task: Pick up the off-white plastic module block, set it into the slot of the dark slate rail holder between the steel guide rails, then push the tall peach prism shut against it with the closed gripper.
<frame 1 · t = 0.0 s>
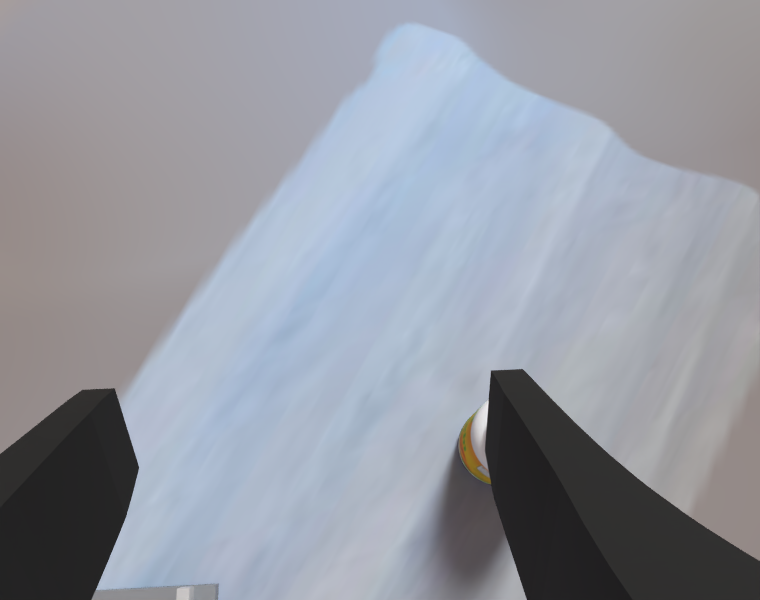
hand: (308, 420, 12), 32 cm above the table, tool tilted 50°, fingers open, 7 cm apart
supplement bottle: (494, 447, 43), on the table
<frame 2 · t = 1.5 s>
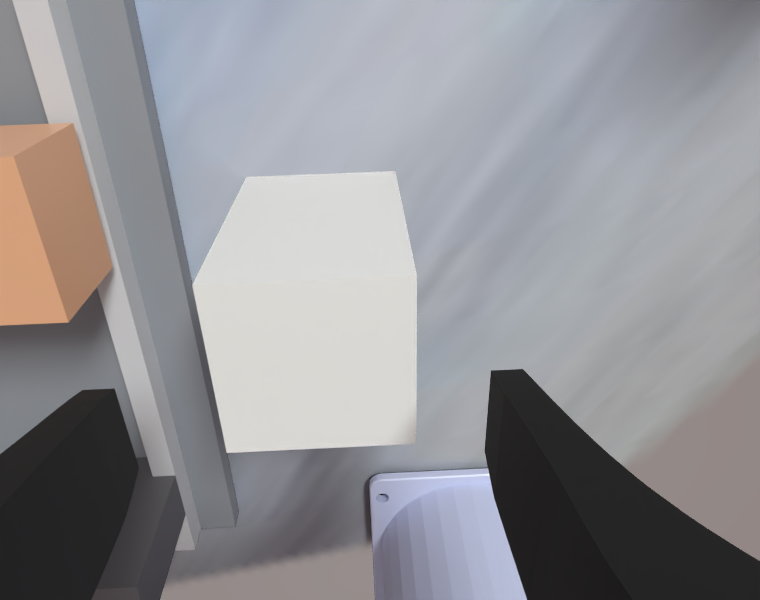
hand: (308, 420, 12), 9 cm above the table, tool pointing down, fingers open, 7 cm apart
rail holder: (30, 310, 20), on the table
module: (326, 242, 19), on the table
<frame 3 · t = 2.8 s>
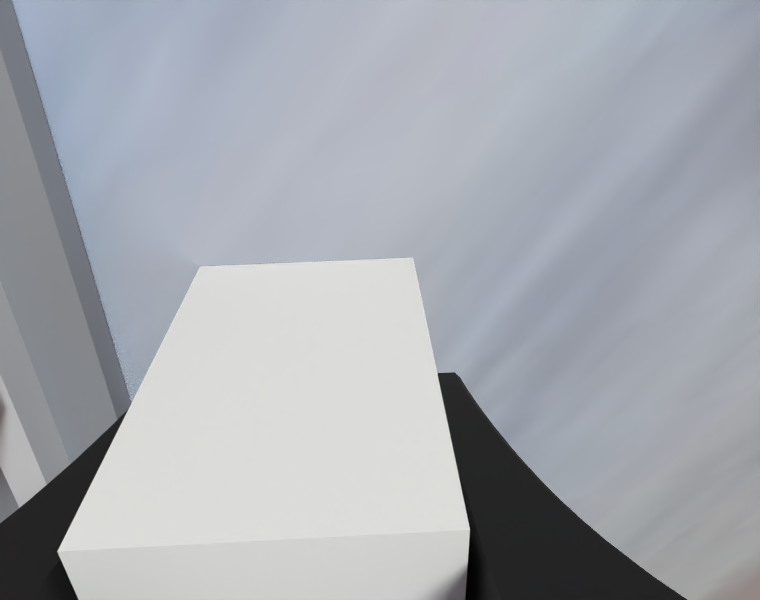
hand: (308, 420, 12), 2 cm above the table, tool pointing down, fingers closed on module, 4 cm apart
module: (315, 350, 14), on the table, touching gripper
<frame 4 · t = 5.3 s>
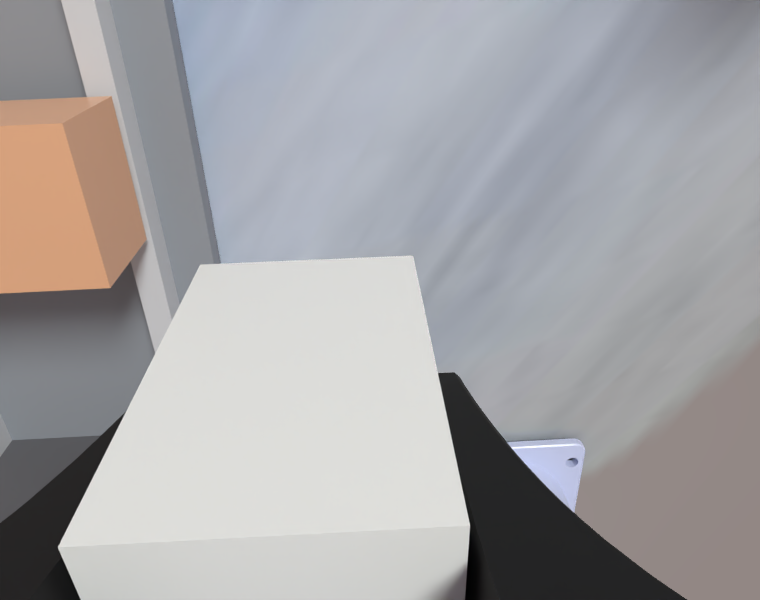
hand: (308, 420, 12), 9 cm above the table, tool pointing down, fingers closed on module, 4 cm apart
rail holder: (61, 286, 20), on the table
module: (315, 348, 14), point 7 cm above the table, touching gripper
when the fingers open (5 cm above the table, at t = 7.8 s): module drops 1 cm, resting on rail holder.
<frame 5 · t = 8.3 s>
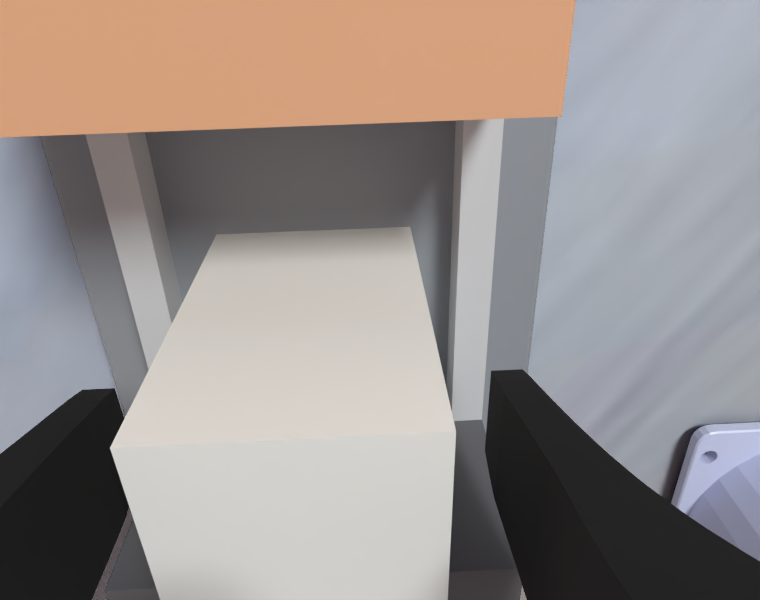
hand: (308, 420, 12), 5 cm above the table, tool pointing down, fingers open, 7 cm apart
rail holder: (309, 181, 14), on the table
module: (320, 313, 15), point 1 cm above the table, touching rail holder
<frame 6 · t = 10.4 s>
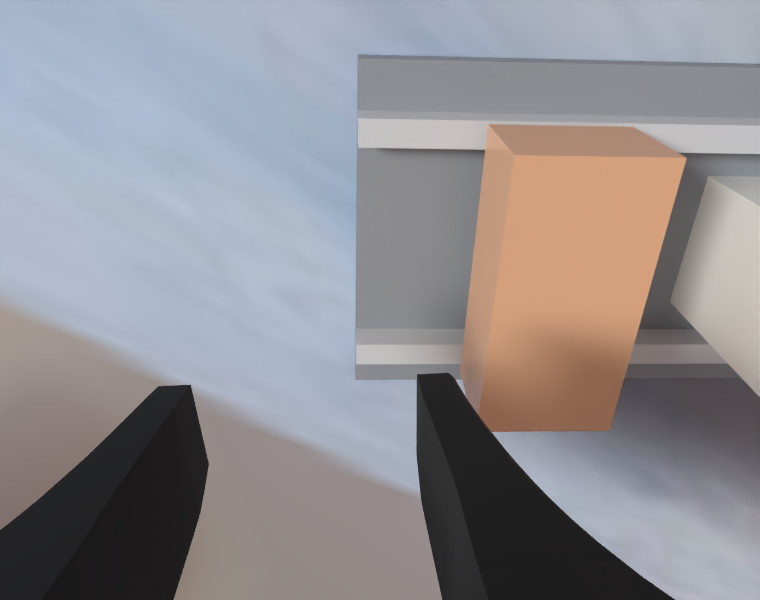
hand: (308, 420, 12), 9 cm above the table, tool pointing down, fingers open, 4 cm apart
tall peach prism: (551, 284, 17), point 4 cm above the table, slide at 3.0 cm
rail holder: (649, 234, 20), on the table
module: (753, 243, 20), point 1 cm above the table, touching rail holder
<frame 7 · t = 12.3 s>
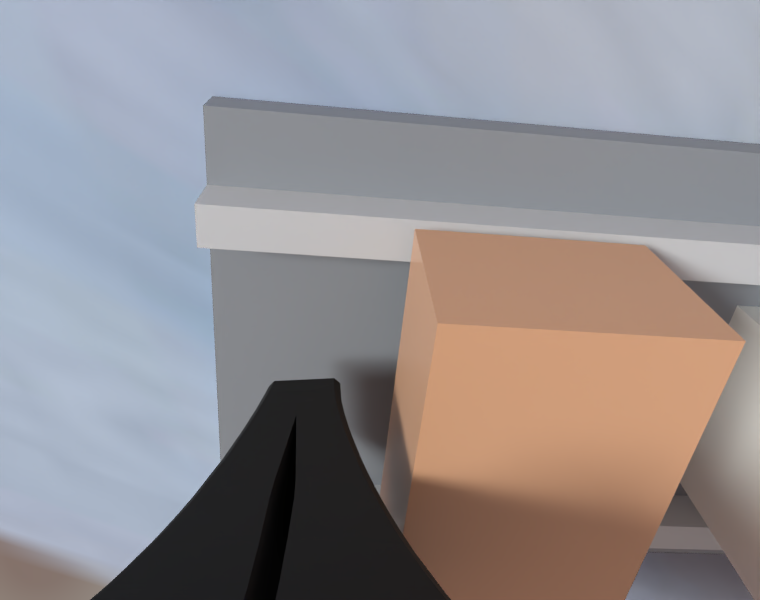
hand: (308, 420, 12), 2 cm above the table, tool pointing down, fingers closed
tall peach prism: (504, 479, 11), point 4 cm above the table, slide at 2.8 cm, touching gripper
rail holder: (645, 370, 14), on the table
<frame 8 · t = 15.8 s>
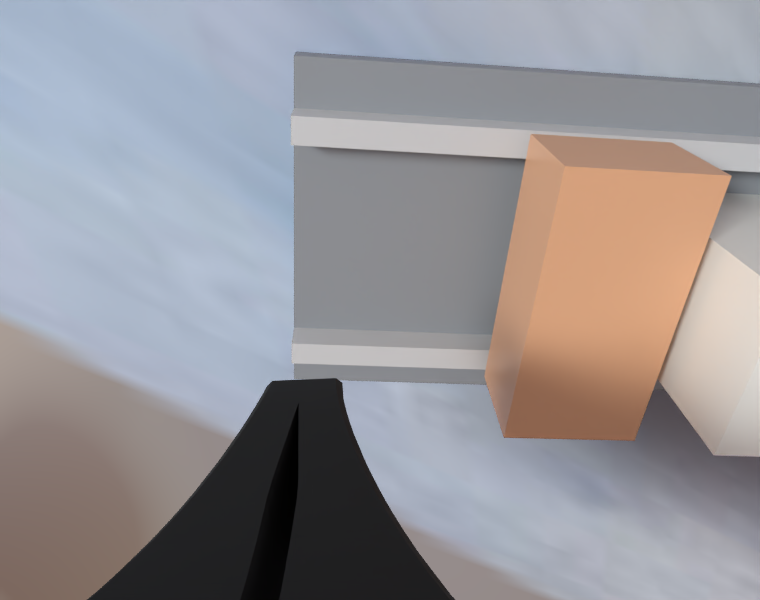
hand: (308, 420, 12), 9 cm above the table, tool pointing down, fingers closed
tall peach prism: (585, 294, 17), point 4 cm above the table, slide at 0.0 cm
rail holder: (589, 244, 20), on the table
module: (690, 256, 20), point 1 cm above the table, touching rail holder
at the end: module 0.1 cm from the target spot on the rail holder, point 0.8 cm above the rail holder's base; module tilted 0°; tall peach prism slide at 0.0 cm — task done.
